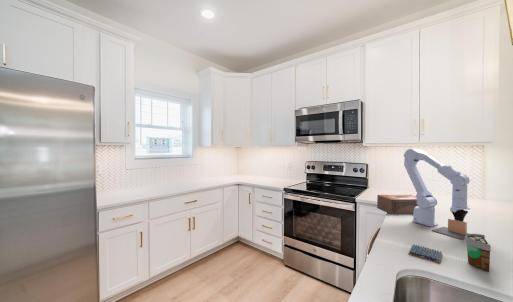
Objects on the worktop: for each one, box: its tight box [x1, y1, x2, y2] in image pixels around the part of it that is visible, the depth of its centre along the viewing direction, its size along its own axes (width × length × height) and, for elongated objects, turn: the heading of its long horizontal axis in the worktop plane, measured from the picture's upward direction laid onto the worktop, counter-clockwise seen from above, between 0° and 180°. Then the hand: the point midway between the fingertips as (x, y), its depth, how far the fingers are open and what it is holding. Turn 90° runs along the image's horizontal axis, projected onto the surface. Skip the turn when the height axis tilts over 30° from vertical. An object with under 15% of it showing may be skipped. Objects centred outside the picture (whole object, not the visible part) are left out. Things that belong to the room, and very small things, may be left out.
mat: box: [431, 226, 470, 241], centre depth 112 cm, size 12×12×1 cm
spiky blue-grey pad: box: [407, 243, 444, 264], centre depth 89 cm, size 10×11×2 cm
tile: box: [447, 218, 468, 235], centre depth 112 cm, size 7×2×6 cm, turn 26°
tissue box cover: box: [376, 194, 419, 215], centre depth 152 cm, size 26×14×10 cm, turn 95°
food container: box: [463, 233, 492, 273], centre depth 82 cm, size 12×6×10 cm, turn 141°
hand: (458, 223), depth 113 cm, fingers closed
